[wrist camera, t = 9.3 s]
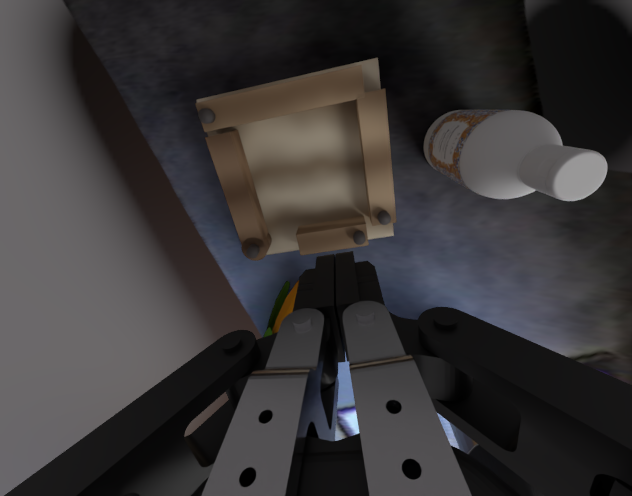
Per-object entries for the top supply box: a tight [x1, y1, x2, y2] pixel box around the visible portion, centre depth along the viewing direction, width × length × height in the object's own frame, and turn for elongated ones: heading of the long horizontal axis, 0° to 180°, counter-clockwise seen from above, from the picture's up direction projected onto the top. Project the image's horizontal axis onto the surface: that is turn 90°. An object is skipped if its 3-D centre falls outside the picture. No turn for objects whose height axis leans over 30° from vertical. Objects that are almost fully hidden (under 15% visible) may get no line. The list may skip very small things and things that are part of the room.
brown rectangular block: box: [205, 130, 272, 260], centre depth 35 cm, size 15×3×4 cm, turn 12°
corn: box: [263, 281, 299, 338], centre depth 44 cm, size 7×8×20 cm
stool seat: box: [195, 58, 396, 255], centre depth 34 cm, size 20×20×6 cm
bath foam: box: [424, 110, 607, 201], centre depth 26 cm, size 7×7×20 cm
